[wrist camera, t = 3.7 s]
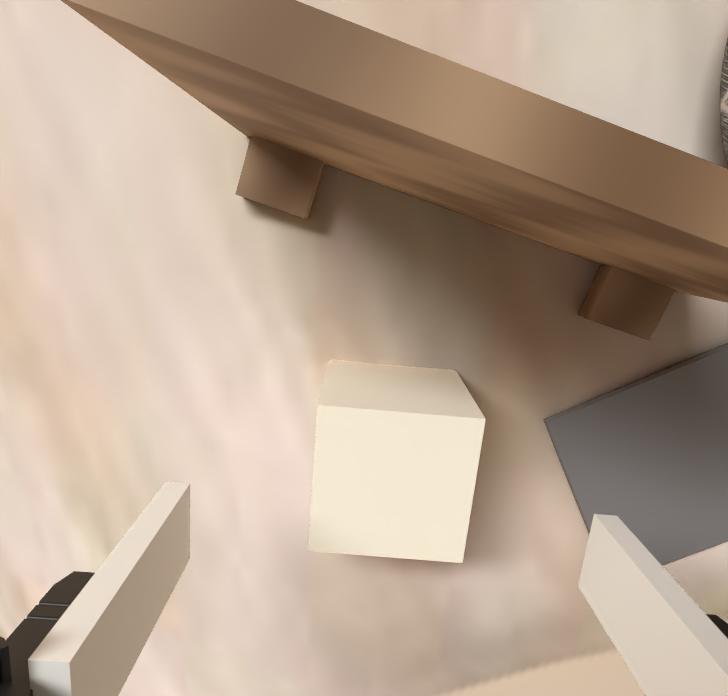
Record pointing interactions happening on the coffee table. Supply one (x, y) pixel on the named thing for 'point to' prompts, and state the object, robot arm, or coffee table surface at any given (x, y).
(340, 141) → the walnut screen
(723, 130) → the planter
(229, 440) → the coffee table surface
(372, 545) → the cream cube
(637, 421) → the mat
